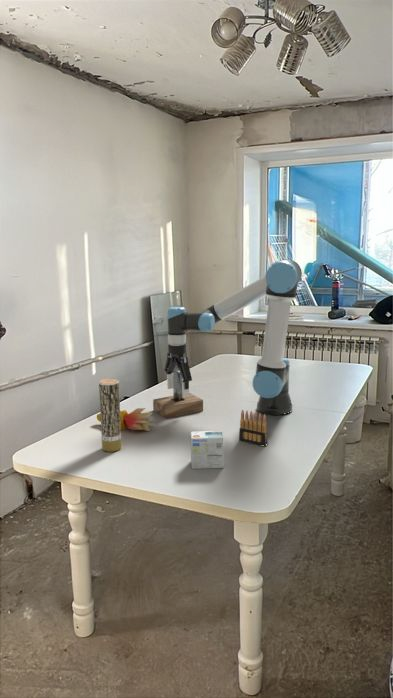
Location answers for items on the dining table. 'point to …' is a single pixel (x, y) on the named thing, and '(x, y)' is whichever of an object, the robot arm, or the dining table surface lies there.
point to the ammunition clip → (253, 429)
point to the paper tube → (110, 414)
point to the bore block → (177, 406)
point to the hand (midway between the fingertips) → (177, 392)
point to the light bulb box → (207, 449)
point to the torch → (134, 420)
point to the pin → (177, 386)
